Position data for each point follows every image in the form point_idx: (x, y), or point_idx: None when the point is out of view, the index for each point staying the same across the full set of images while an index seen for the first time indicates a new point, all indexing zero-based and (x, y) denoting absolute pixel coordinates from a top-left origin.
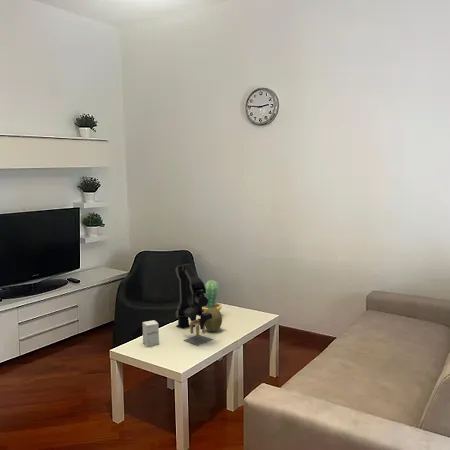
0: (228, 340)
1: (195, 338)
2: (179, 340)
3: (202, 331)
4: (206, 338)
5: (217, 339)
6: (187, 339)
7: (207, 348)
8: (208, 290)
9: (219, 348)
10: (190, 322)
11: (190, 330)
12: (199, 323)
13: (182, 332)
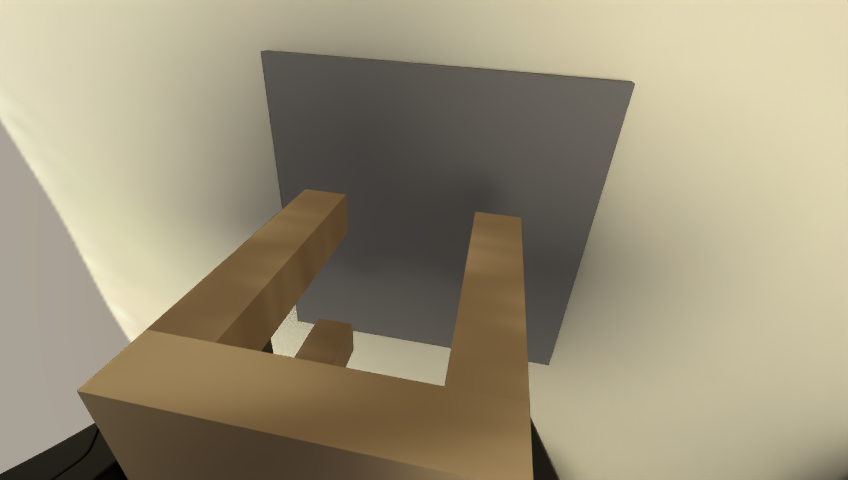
0: None
1: None
2: (723, 47)
3: (331, 342)
4: (363, 306)
5: (273, 340)
6: (577, 150)
7: (103, 55)
8: None
9: (35, 149)
10: (507, 452)
11: (518, 251)
12: (123, 450)
13: (839, 353)
